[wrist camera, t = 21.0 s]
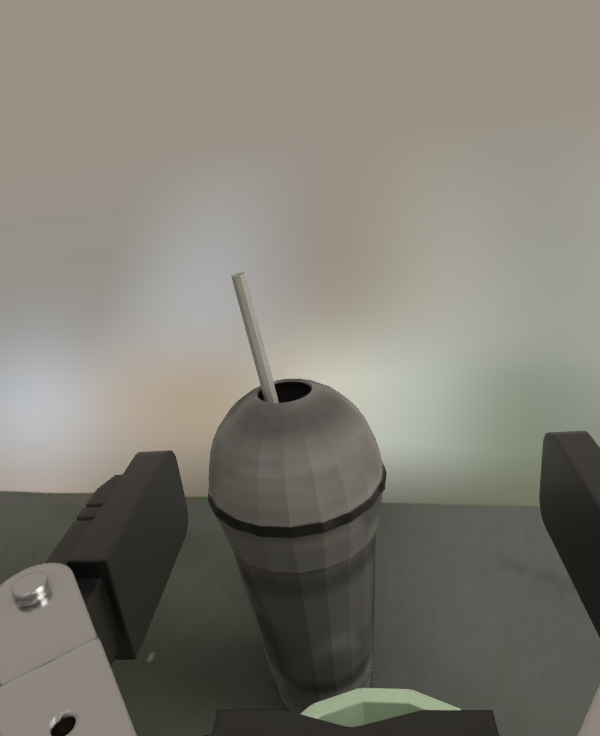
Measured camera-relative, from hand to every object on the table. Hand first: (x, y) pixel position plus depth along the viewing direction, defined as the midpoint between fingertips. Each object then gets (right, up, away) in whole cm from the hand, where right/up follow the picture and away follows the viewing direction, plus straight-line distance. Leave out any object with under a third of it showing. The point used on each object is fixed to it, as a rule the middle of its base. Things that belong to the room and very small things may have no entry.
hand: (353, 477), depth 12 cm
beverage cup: (0, -13, +15) cm, 20 cm away
